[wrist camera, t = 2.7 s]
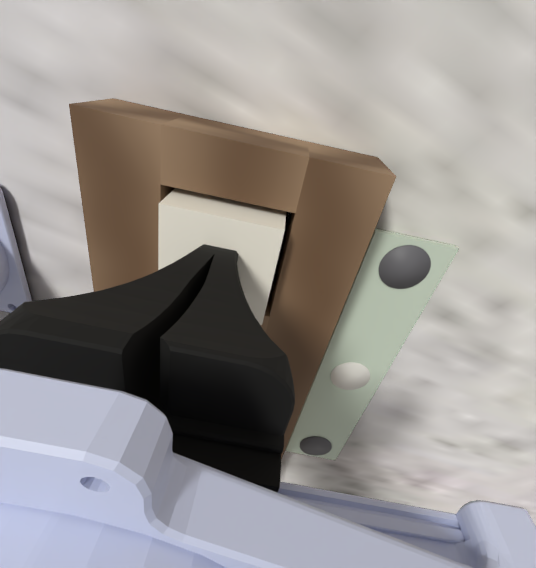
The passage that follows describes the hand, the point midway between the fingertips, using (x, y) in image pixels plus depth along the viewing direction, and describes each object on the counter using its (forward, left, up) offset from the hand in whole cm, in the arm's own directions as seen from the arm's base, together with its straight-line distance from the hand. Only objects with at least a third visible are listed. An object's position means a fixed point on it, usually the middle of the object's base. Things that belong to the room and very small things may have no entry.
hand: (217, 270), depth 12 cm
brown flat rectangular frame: (0, -8, -4) cm, 9 cm away
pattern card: (+8, -8, -4) cm, 12 cm away
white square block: (0, 0, -3) cm, 3 cm away
